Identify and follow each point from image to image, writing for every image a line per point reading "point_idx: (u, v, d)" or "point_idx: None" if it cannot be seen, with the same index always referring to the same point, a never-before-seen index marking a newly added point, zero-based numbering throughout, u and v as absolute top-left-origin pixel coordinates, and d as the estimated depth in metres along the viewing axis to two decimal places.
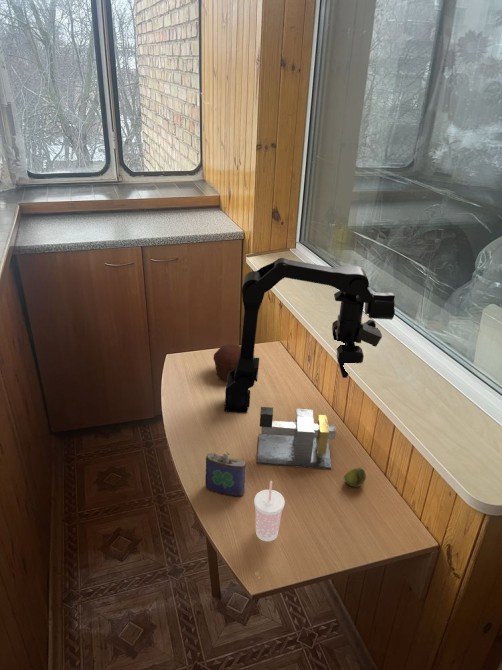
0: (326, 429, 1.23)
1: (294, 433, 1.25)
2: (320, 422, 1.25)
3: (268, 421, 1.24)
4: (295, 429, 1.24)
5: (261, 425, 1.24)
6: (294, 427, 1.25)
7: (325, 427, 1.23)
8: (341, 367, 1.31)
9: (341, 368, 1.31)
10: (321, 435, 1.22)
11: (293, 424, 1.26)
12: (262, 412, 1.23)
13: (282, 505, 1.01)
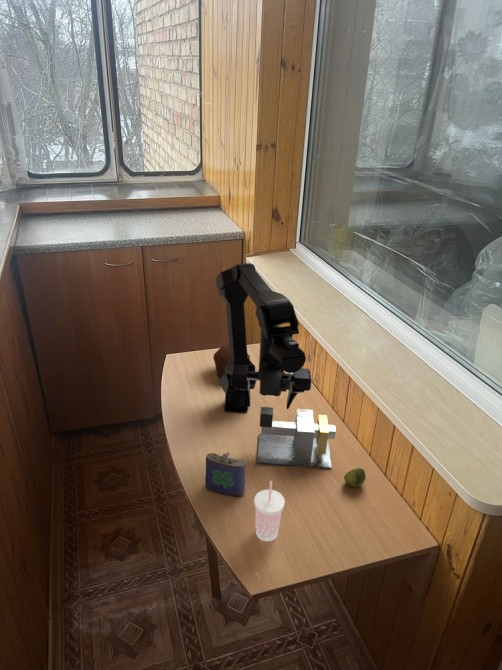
0: (326, 429, 1.23)
1: (294, 433, 1.25)
2: (320, 422, 1.25)
3: (268, 421, 1.24)
4: (295, 429, 1.24)
5: (261, 425, 1.24)
6: (294, 427, 1.25)
7: (325, 427, 1.23)
8: None
9: None
10: (321, 435, 1.22)
11: (293, 424, 1.26)
12: (262, 412, 1.23)
13: (282, 505, 1.01)
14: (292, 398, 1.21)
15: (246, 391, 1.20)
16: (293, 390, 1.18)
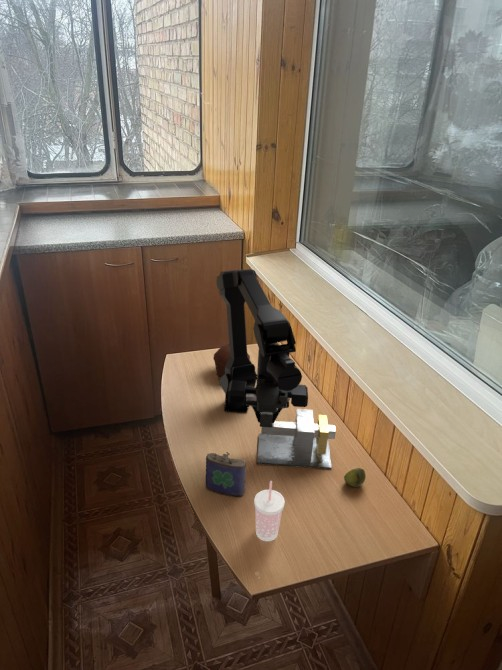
0: (326, 429, 1.23)
1: (294, 433, 1.25)
2: (320, 422, 1.25)
3: (268, 421, 1.24)
4: (295, 429, 1.24)
5: (261, 425, 1.24)
6: (294, 427, 1.25)
7: (325, 427, 1.23)
8: None
9: None
10: (321, 435, 1.22)
11: (293, 424, 1.26)
12: (262, 412, 1.23)
13: (282, 505, 1.01)
14: (277, 413, 1.23)
15: (256, 407, 1.22)
16: None
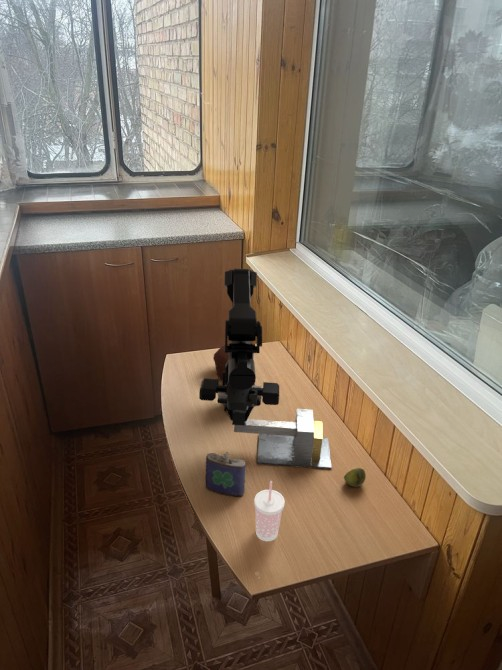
0: (320, 435, 1.24)
1: (267, 431, 1.25)
2: (315, 428, 1.26)
3: (240, 419, 1.24)
4: (268, 427, 1.25)
5: (234, 423, 1.24)
6: (267, 425, 1.25)
7: (319, 433, 1.24)
8: None
9: None
10: (315, 441, 1.23)
11: (266, 422, 1.26)
12: (234, 410, 1.23)
13: (282, 505, 1.01)
14: (249, 411, 1.23)
15: None
16: None
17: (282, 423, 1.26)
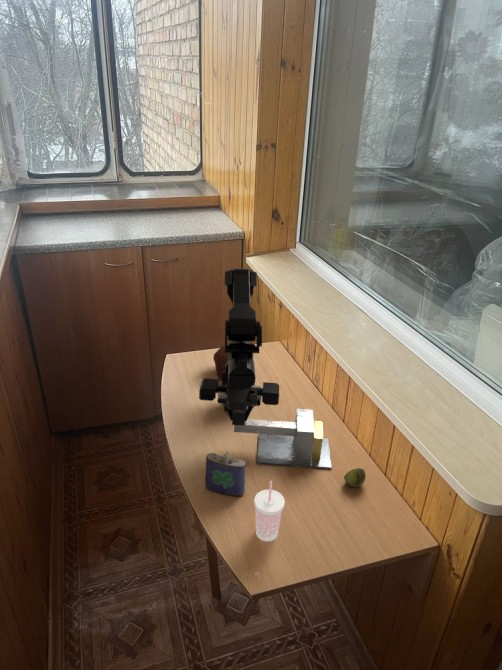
0: (320, 435, 1.24)
1: (267, 431, 1.25)
2: (315, 428, 1.26)
3: (240, 419, 1.24)
4: (267, 427, 1.25)
5: (233, 423, 1.24)
6: (267, 425, 1.25)
7: (320, 434, 1.24)
8: None
9: None
10: (315, 441, 1.23)
11: (266, 422, 1.26)
12: (234, 410, 1.23)
13: (282, 505, 1.01)
14: (249, 411, 1.23)
15: None
16: None
17: (282, 423, 1.26)
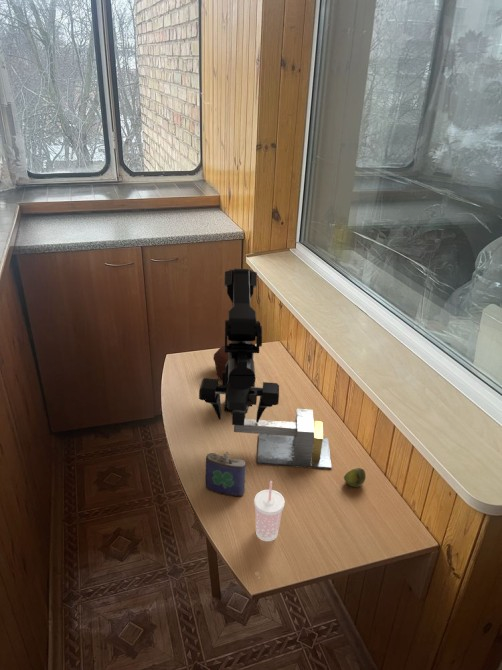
0: (320, 435, 1.24)
1: (266, 431, 1.25)
2: (315, 428, 1.26)
3: (240, 419, 1.24)
4: (267, 427, 1.25)
5: (233, 423, 1.24)
6: (267, 425, 1.25)
7: (320, 434, 1.24)
8: None
9: None
10: (315, 441, 1.23)
11: (266, 422, 1.26)
12: (234, 410, 1.23)
13: (282, 505, 1.01)
14: (261, 412, 1.23)
15: (216, 405, 1.22)
16: (261, 404, 1.20)
17: (282, 423, 1.26)
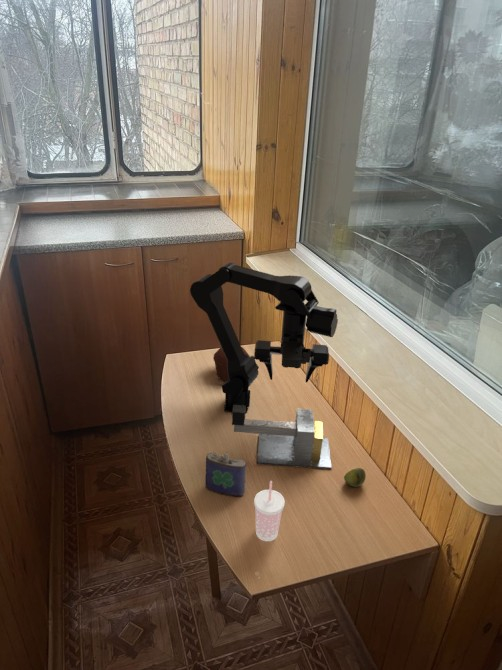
0: (320, 435, 1.24)
1: (266, 431, 1.25)
2: (315, 428, 1.26)
3: (240, 419, 1.24)
4: (267, 427, 1.25)
5: (233, 423, 1.24)
6: (267, 425, 1.25)
7: (320, 434, 1.24)
8: None
9: None
10: (315, 441, 1.23)
11: (266, 422, 1.26)
12: (234, 410, 1.23)
13: (282, 505, 1.01)
14: (311, 372, 1.31)
15: (269, 365, 1.31)
16: (312, 364, 1.29)
17: (282, 423, 1.26)
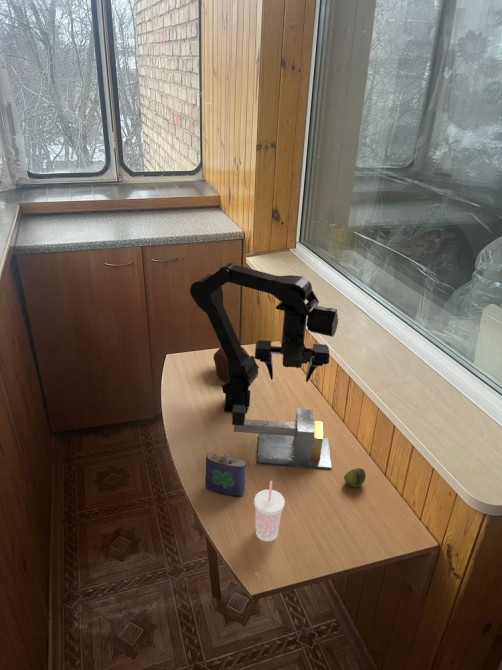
0: (320, 435, 1.24)
1: (266, 431, 1.25)
2: (315, 428, 1.26)
3: (240, 419, 1.24)
4: (267, 427, 1.25)
5: (233, 423, 1.24)
6: (267, 425, 1.25)
7: (320, 434, 1.24)
8: None
9: None
10: (315, 441, 1.23)
11: (266, 422, 1.26)
12: (234, 410, 1.23)
13: (282, 505, 1.01)
14: (311, 371, 1.32)
15: (269, 364, 1.31)
16: (313, 363, 1.29)
17: (282, 423, 1.26)
